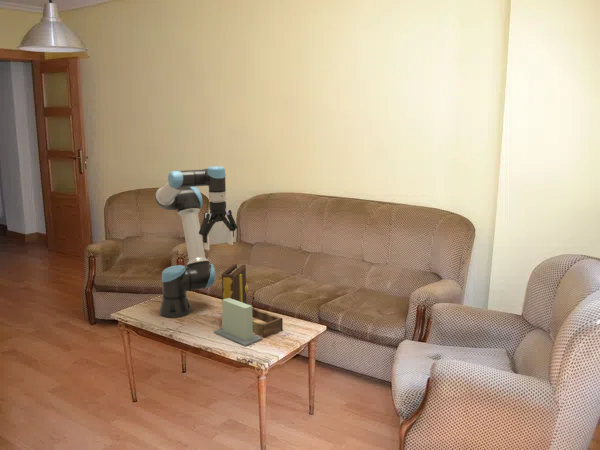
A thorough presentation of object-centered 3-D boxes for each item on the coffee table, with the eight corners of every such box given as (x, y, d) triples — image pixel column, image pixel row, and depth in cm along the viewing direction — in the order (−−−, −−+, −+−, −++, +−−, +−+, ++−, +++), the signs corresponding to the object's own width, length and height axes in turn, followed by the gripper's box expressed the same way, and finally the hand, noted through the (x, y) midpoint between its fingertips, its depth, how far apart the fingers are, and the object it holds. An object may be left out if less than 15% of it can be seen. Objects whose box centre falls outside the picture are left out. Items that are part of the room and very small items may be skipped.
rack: (234, 325, 252) (234, 313, 251) (253, 319, 260) (252, 307, 259) (264, 337, 238) (264, 325, 237) (282, 330, 247) (282, 318, 246)
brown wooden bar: (238, 326, 251) (238, 315, 250) (243, 324, 254) (243, 313, 253) (262, 336, 240) (262, 325, 239) (268, 334, 243) (268, 322, 241)
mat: (213, 332, 244) (213, 331, 244) (230, 326, 251) (230, 325, 251) (245, 346, 229) (245, 344, 229) (262, 339, 237) (262, 338, 236)
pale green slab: (222, 331, 244) (221, 299, 241) (229, 328, 247) (228, 297, 244) (246, 340, 233) (245, 308, 230) (252, 338, 236) (252, 306, 233)
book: (236, 326, 251) (235, 276, 246) (219, 325, 253) (218, 274, 248) (250, 310, 272) (249, 263, 267) (234, 309, 274) (233, 262, 269)
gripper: (199, 205, 228) (201, 253, 232) (244, 198, 246) (245, 243, 250) (189, 203, 233) (191, 250, 237) (233, 197, 251) (234, 241, 255)
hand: (219, 247), depth 243 cm, fingers open, 13 cm apart
